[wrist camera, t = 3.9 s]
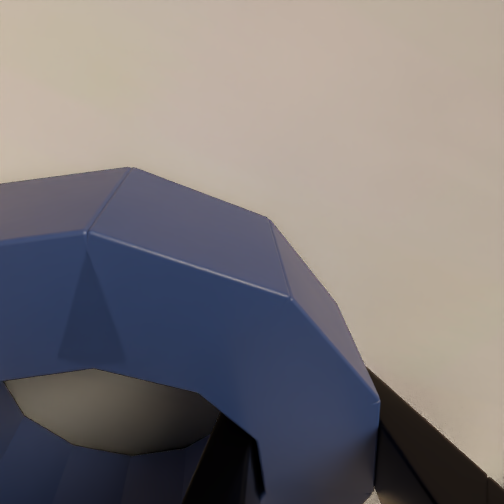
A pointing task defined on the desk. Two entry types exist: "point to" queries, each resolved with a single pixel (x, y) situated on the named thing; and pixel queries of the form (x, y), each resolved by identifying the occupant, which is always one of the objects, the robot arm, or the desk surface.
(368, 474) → the ring
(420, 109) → the desk surface
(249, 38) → the desk surface
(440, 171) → the desk surface
